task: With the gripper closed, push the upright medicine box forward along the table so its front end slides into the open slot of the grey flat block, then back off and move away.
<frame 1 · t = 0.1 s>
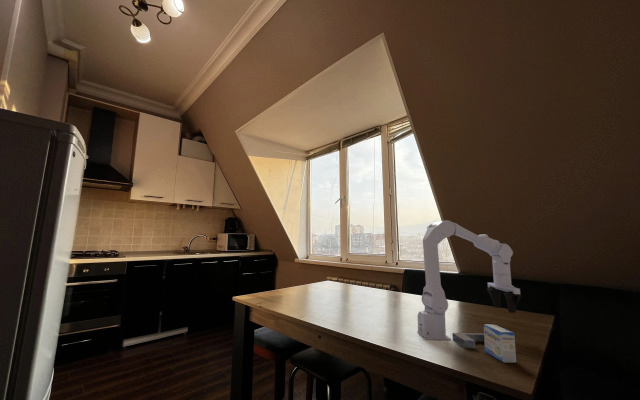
hand: (504, 309, 102), 10 cm above the table, fingers open, 7 cm apart
grey flat block: (480, 345, 92), on the table
medicine box: (500, 357, 82), on the table
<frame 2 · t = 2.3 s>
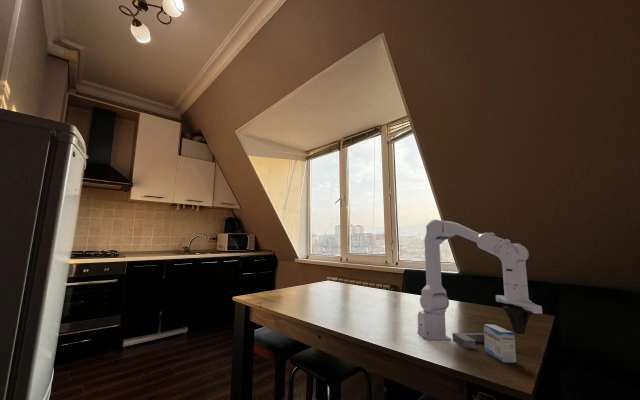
hand: (519, 333, 75), 10 cm above the table, fingers closed
nothing on the table moved.
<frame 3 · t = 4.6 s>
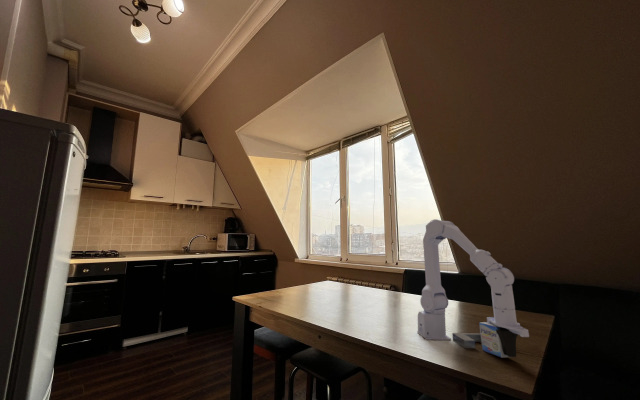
hand: (509, 355, 79), 2 cm above the table, fingers closed, pressing on medicine box
medicine box: (497, 354, 84), on the table, touching gripper
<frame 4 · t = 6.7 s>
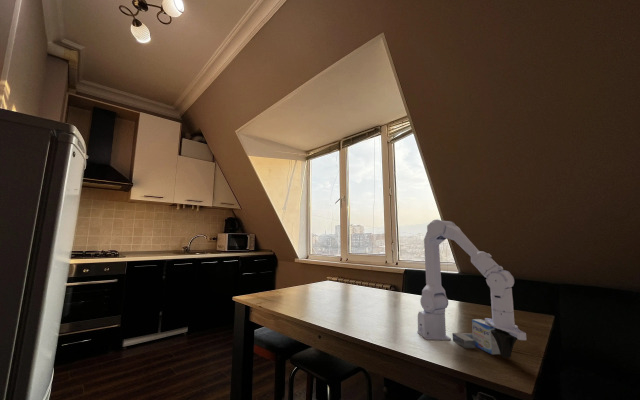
hand: (505, 356, 80), 1 cm above the table, fingers closed
medicine box: (487, 350, 88), on the table
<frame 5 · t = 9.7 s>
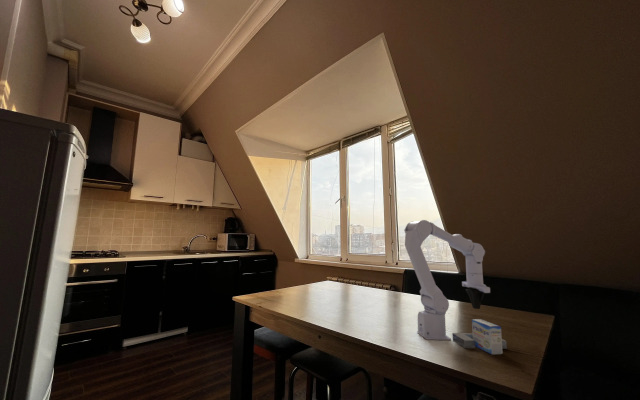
hand: (476, 308, 103), 10 cm above the table, fingers closed
nothing on the table moved.
at the end: medicine box 1.8 cm from the target spot, on the table; medicine box tilted 0°; the gripper is holding nothing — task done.
